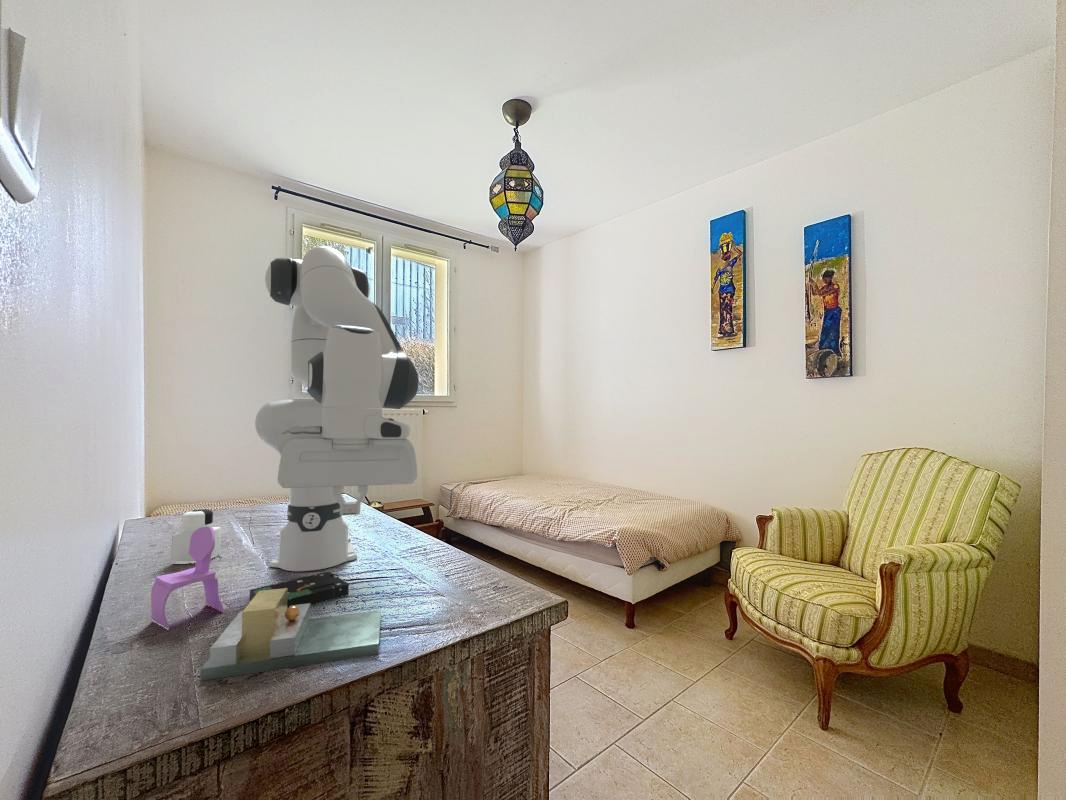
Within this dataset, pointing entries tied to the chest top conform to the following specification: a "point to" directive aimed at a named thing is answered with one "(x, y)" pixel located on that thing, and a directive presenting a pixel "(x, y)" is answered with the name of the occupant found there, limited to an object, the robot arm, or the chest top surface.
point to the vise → (316, 646)
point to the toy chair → (189, 576)
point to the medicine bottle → (189, 525)
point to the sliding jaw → (290, 631)
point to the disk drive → (310, 589)
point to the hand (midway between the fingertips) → (350, 514)
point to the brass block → (262, 620)
